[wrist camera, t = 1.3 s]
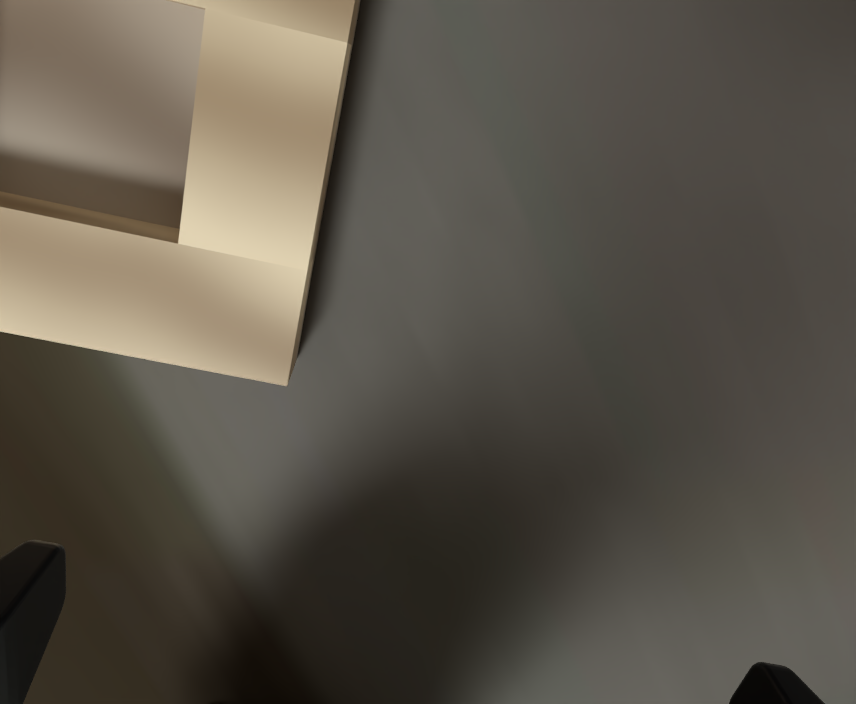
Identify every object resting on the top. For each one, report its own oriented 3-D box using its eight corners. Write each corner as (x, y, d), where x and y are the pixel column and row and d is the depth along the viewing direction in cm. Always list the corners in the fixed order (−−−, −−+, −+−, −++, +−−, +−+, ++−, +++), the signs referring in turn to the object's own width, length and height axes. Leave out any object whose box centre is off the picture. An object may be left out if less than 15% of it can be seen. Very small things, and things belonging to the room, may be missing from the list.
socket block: (296, 359, 22) (287, 385, 20) (-136, 275, 21) (-189, 295, 19) (377, -97, 18) (375, -116, 16) (-150, -236, 17) (-218, -274, 15)
